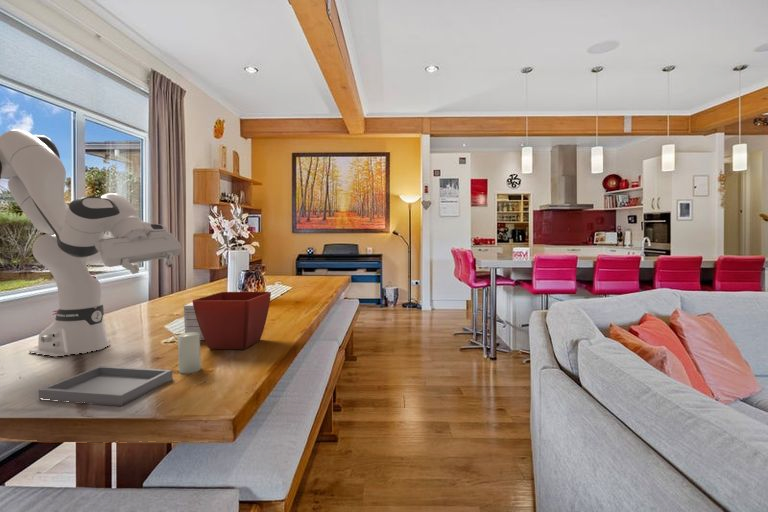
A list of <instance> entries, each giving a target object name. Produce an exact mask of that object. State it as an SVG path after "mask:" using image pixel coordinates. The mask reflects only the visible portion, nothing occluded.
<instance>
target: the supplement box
mask: <svg viewBox="0 0 768 512" xmlns="http://www.w3.org/2000/svg"><path fill="white" fill-rule="evenodd" d="M183 319H184V320H183V322H184V333H189V332H197V333H200V341H205V339H204V337H203V335H202V332H201V330H200V327H199V324H198V321H197V318H196V314H195V311H194V306H193V301H191V302H190V303H188V304H185V305H183Z"/></svg>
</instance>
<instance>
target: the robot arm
mask: <svg viewBox="0 0 768 512" xmlns="http://www.w3.org/2000/svg"><path fill="white" fill-rule="evenodd" d="M66 174H67V171H66V168H65V165H64V164H63V162H62V159H61V156H60V153H59V148H58V147H57V145H56V144H55V143H54V141H52V139H51V138H49V137H47V136H46V135H42V134H32V133H30V132H28V131H25V130H22V129H11V130H8V131H5V132H3V133H2V134H1V135H0V180H1V179H6V178H7V179H8V178H9V179H8V181H7V187H8V189H9V191H10V194H11V196H12V197H13V199H14V202H15V203H16V204H17V205H18V207H19V209H20V210H21V211H22V213H23V214H24V215H25V216H26V217H27V219H28V220H29V221H30V222H31V224H32V226H34V228H36V229H37V230H38V231H39V232H42V233H44V234H42V235H40V236H38V237H36V239H35V240H34V242H33V244H32V249H31V250H32V254H33V255H32V256H33V257H34V259H35V260H36V261H37V262H38V263H39V264H41V266H44V267H45V268H46V269H48V271H49V272H50V274H51V275H52V277H53V278H54V281H55V283H56V286H57V294H58V304H59V308H58V309H57V310H53V311H52V316H54V315H56V316H55V320H54V321H53V322H52V323H51V324H49V325H48V326H47V327H46V328H44V329H43V330H42V331H41V332H40V333H39V335H38V339H37V340H38V346H35V347H33V348H30V349H28V353H29V352H34V353H39V354H45V355H51V356H63V355H68V356H71V355H70V354H75V355H80V354H79V353H82V354H88V353H92V352H91V351H93V352H96V350H97V351H99V350H103V349H106V348H108V347H109V346H110V345H111V343H110V338H109V336H108V332H107V327H106V322H105V319H104V314H105V312H104V311H105V307H104V305H103V304H102V291H101V290H102V287H101V283H100V281H99V280H98V279H97V278H95V277H93V276H92V274H91V273H90V271H89V270H88V269H89V268H88V266H87V265H95V264H99V263H102V262H103V265H104V266H106V267H109V268H111V267H119V266H122V268H124V269H125V270H128V271H130V272H131V274H132V275H135V274H139V271H140V268H139V267H138V265H137V264H136V263H142V262H148V261H155V260H162V259H165V266H166V268H173V267H174V265H175V262H174V260H173V257H178V256H179V255H180V253H181V252H182V245H181V243H180V241H179V240H178V239H177V238H176V236H175V235H174V234H173V233H171V232H169V231H167V230H168V228H167V226H166V225H165V224H160V223H159V224H157V223H150V222H148V221H147V222H146V221H144V220H143V219H142V218H140V215H139V213H138V211H137V209H135V207H134V205H133V204H132V203H131V202H130V201H129V200H128V199H126V198H125V197H124V196H123V195H120V194H119V193H113V192H112V193H111V192H110V193H105V194H103V195H100V196H85V197H84V196H82V197H79V198H76V199H74V200H72V201H71V202H70V203H69V204H68V203H67V202H66V201H65V186H66V184H65V183H66V178H67V177H66ZM105 232H109V233H111V235H112V236H113V237H111V236H110V235H109V234H105ZM107 346H108V347H107ZM105 347H106V348H105ZM87 352H88V353H87ZM63 357H64V356H63Z"/></svg>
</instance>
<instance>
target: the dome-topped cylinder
mask: <svg viewBox="0 0 768 512" xmlns="http://www.w3.org/2000/svg"><path fill="white" fill-rule="evenodd" d="M176 338H177V352H178V354H177V355H178V373H180V374H195V373H197V372H199V371H200V370H202V361H201V360H202V359H201V355H202V354H201V340H200V333H197V332H189V333H185V332H183V333H180V334H178V335H177V337H176Z"/></svg>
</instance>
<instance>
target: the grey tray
mask: <svg viewBox="0 0 768 512" xmlns="http://www.w3.org/2000/svg"><path fill="white" fill-rule="evenodd" d="M171 381H173V369H158V368H146V367H145V368H142V367H141V368H140V367H126V366H125V367H121V366H109V365H107V366H105V365H99V366H96V367H94V368H90V369H88V370H86V371H83V372H80V373H78V374H76V375H73V376H70V377H67V378H65V379H63V380H59V381H58V382H54V383H52V384H50V385H47V386H44V387H42V388H39V389H38V391H37V392H38V399H39V398H43V399H50V400H58V401H69V402H83V403H84V402H85V403H92V404H91V405H95V404H101V405H100V406H110V407H123V406H126V405H127V404H129V403H131V402H133V401H135V400H136V399H138V398H141V397H143V396H144V395H146V394H148V393H150V392H152V391H153V390H155V389H157V388H159V387H162V386H163V385H165V384H167V383H168V382H171ZM69 402H68V403H69Z"/></svg>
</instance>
